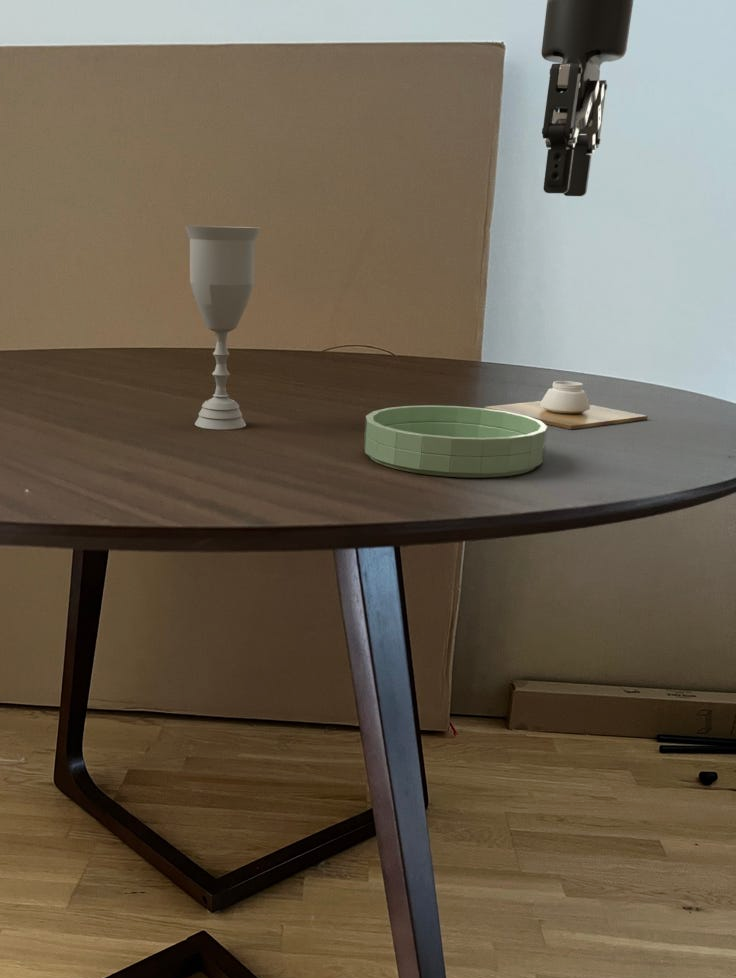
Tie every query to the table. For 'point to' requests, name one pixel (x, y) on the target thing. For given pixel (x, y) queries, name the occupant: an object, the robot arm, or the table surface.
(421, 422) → the pan
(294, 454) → the table surface
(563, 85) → the robot arm
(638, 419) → the mat
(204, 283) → the chalice
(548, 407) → the white jar
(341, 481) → the table surface
